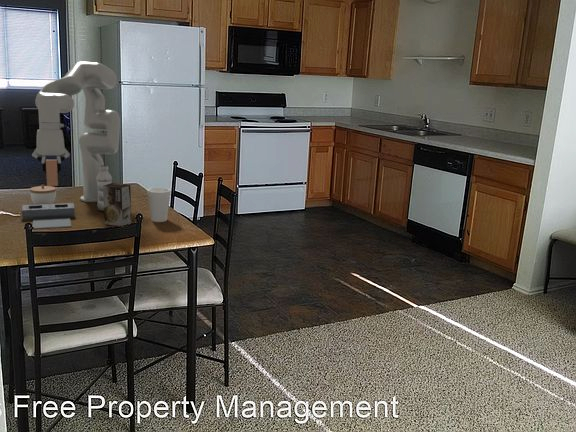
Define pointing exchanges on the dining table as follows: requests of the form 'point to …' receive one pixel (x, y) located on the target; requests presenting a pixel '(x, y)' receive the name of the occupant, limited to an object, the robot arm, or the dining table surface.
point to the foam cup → (158, 203)
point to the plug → (51, 172)
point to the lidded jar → (43, 194)
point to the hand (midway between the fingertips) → (51, 172)
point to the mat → (51, 223)
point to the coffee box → (117, 204)
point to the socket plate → (48, 211)
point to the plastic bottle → (102, 184)
